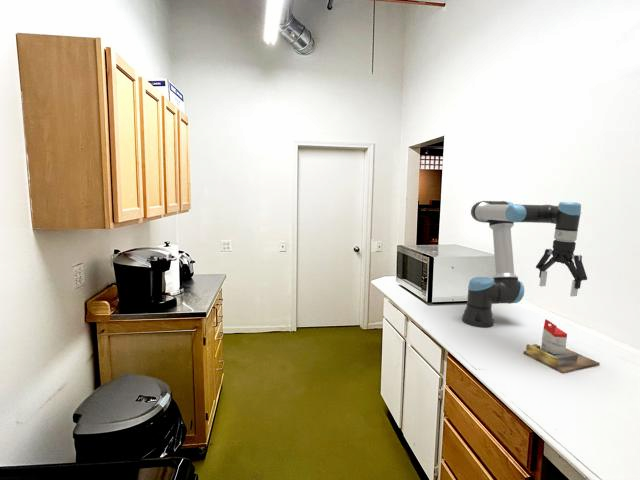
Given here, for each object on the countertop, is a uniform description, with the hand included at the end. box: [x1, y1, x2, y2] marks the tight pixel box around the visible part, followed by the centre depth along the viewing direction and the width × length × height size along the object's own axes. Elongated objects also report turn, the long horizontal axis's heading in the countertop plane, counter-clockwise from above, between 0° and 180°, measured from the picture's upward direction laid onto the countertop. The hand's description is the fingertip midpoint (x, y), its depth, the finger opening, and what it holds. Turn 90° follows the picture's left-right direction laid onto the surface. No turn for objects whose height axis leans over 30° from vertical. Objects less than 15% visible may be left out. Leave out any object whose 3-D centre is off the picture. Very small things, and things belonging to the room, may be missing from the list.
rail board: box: [523, 343, 601, 374], centre depth 146 cm, size 17×21×4 cm
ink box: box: [540, 318, 568, 356], centre depth 145 cm, size 8×5×15 cm, turn 176°
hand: (557, 290), depth 147 cm, fingers open, 13 cm apart
